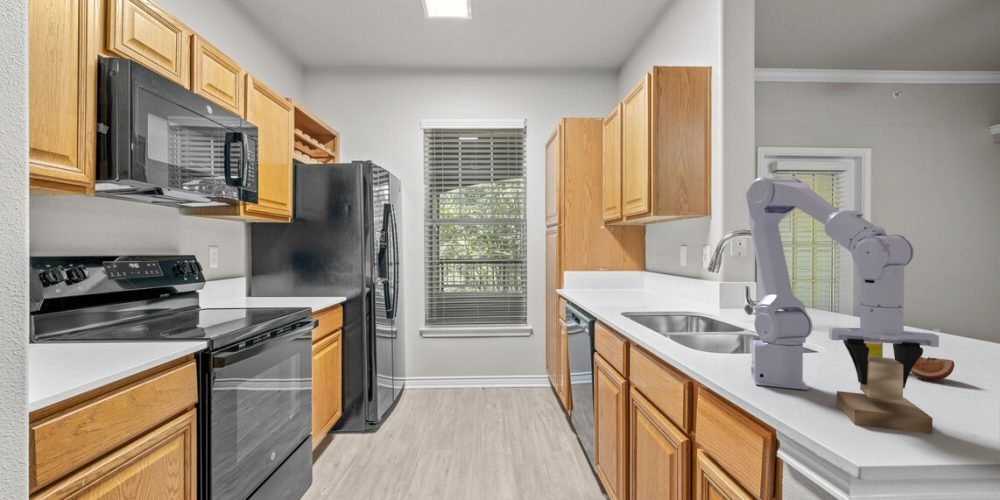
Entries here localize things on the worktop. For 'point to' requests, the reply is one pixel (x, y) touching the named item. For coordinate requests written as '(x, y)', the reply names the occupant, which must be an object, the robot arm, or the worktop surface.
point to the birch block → (884, 379)
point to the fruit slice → (933, 368)
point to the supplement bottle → (875, 348)
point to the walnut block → (884, 413)
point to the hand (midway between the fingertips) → (880, 384)
